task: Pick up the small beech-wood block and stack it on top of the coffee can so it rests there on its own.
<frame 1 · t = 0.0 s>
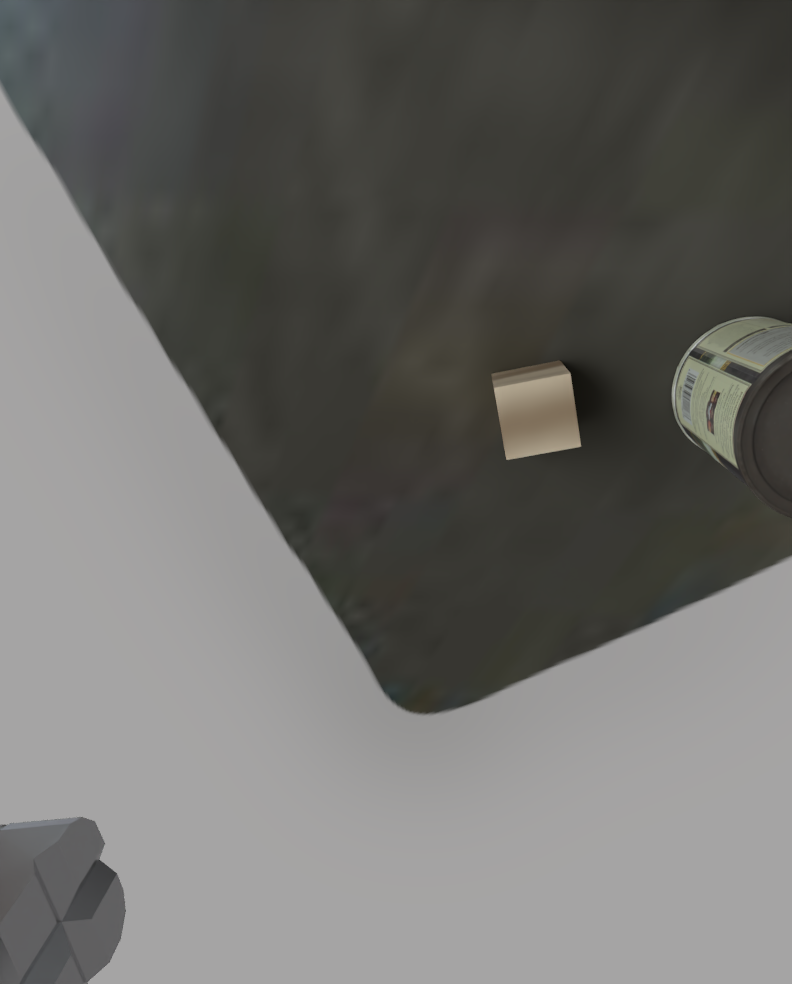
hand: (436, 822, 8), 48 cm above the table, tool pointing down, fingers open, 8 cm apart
coffee can: (743, 387, 53), on the table
beech block: (530, 400, 55), on the table
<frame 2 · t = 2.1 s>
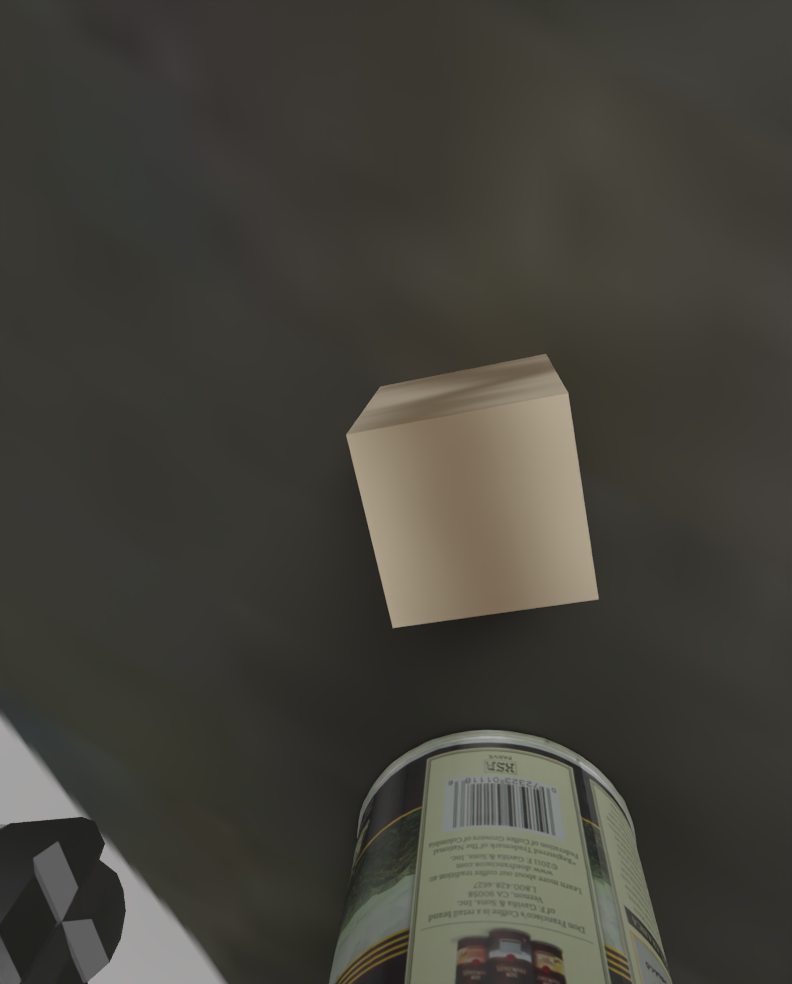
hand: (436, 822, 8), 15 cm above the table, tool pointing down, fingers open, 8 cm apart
coffee can: (495, 840, 28), on the table
beech block: (476, 450, 23), on the table
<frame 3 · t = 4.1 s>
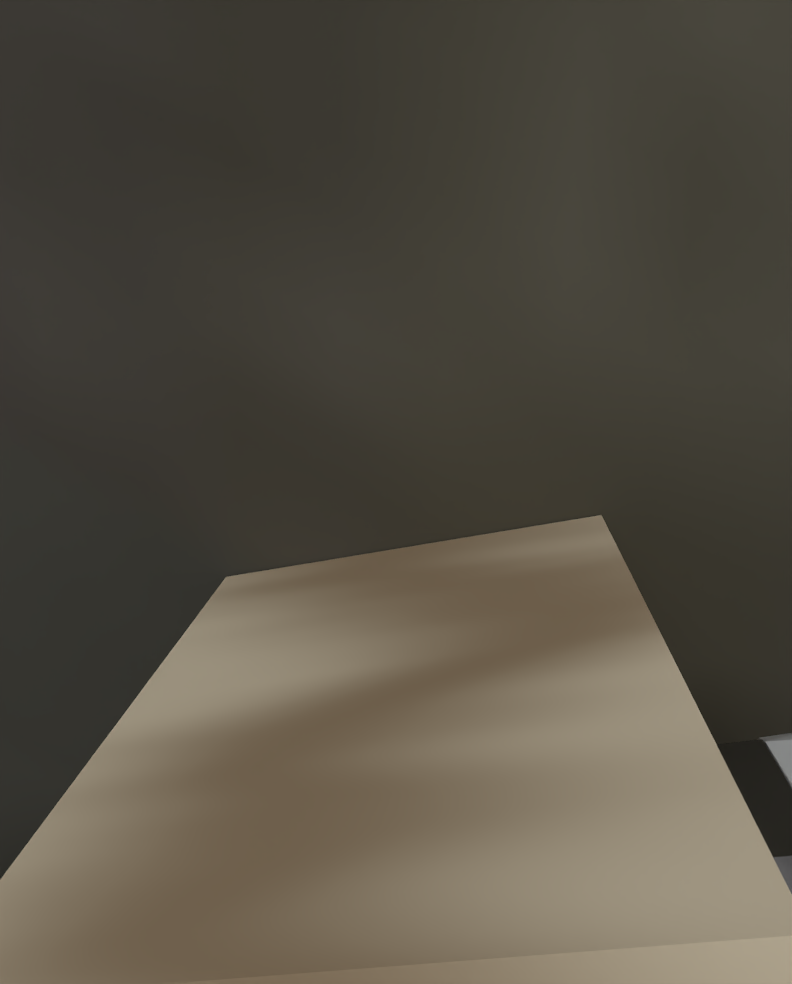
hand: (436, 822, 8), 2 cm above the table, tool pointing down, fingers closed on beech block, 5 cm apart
beech block: (443, 710, 10), on the table, touching gripper
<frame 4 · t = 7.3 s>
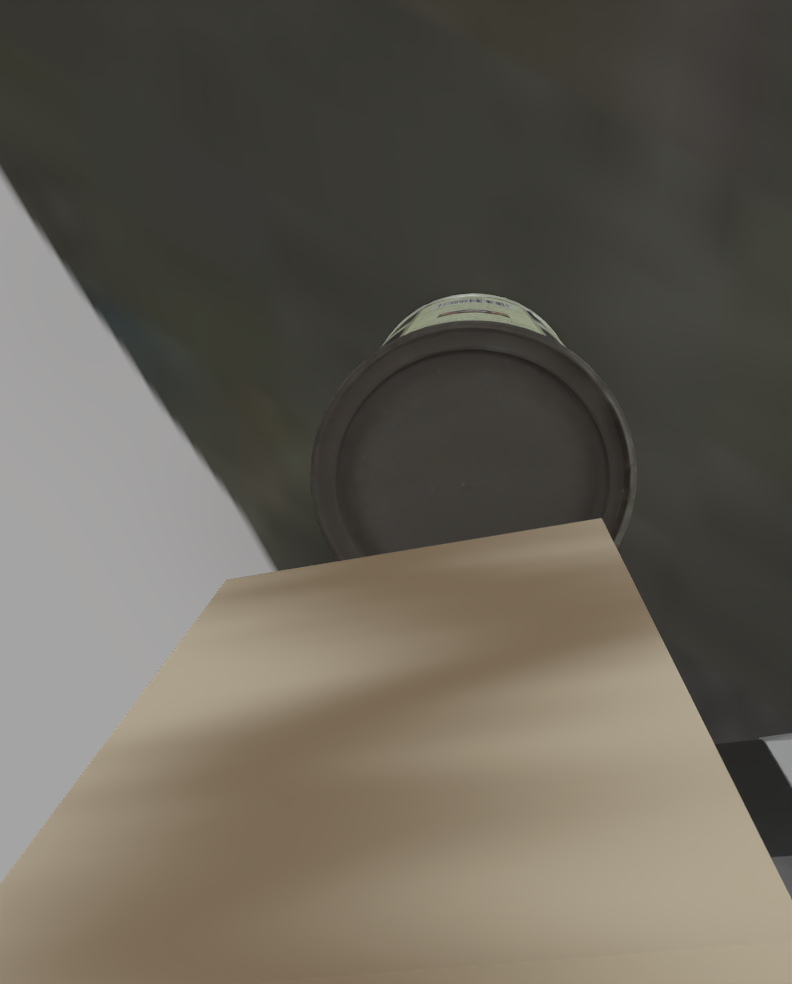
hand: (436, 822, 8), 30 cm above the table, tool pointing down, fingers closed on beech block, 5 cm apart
coffee can: (472, 399, 37), on the table
beech block: (443, 713, 10), point 27 cm above the table, touching gripper
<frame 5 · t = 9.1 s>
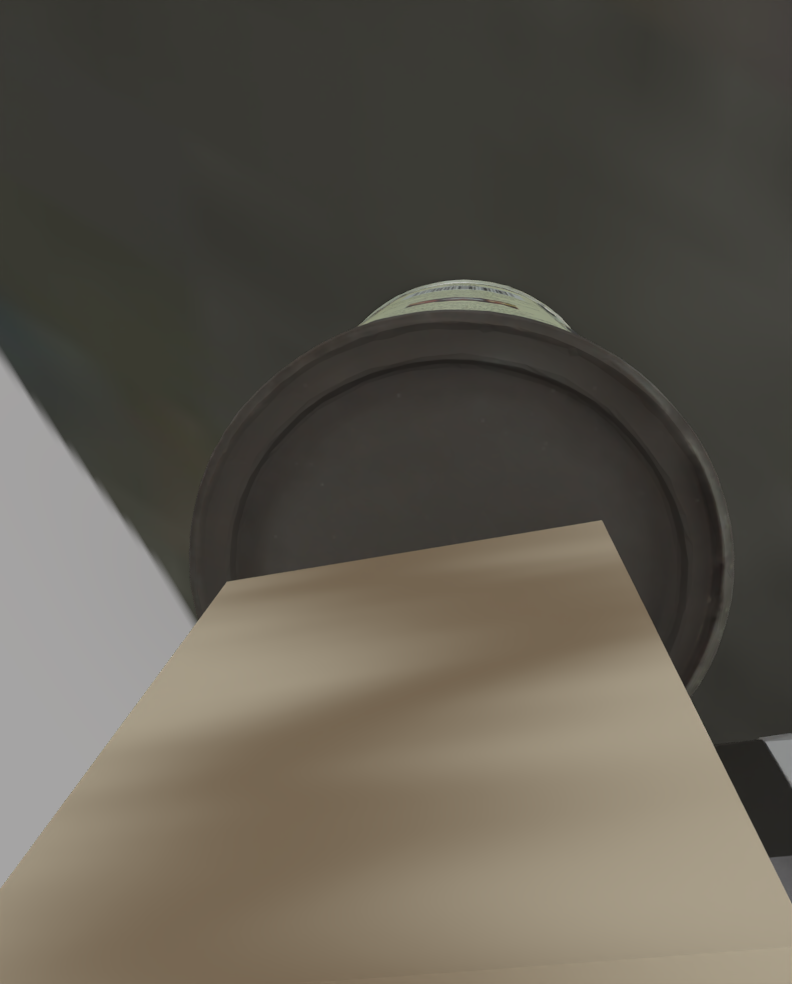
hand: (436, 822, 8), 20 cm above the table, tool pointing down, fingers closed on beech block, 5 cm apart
coffee can: (462, 422, 27), on the table
beech block: (443, 715, 10), point 18 cm above the table, touching gripper
when the fingers open (18 cm above the table, at t = 10.5 s): beech block drops 1 cm, resting on coffee can.
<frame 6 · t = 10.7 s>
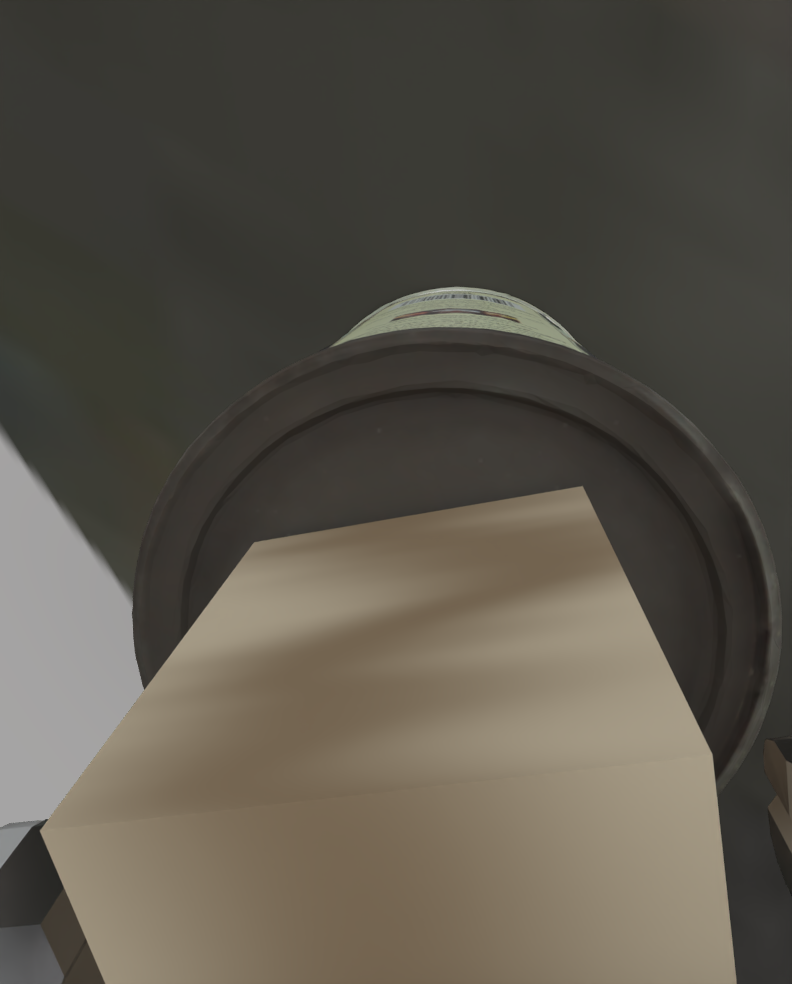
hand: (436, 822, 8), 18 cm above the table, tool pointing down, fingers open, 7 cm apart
coffee can: (457, 441, 25), on the table, touching beech block
beech block: (444, 661, 12), point 14 cm above the table, touching coffee can
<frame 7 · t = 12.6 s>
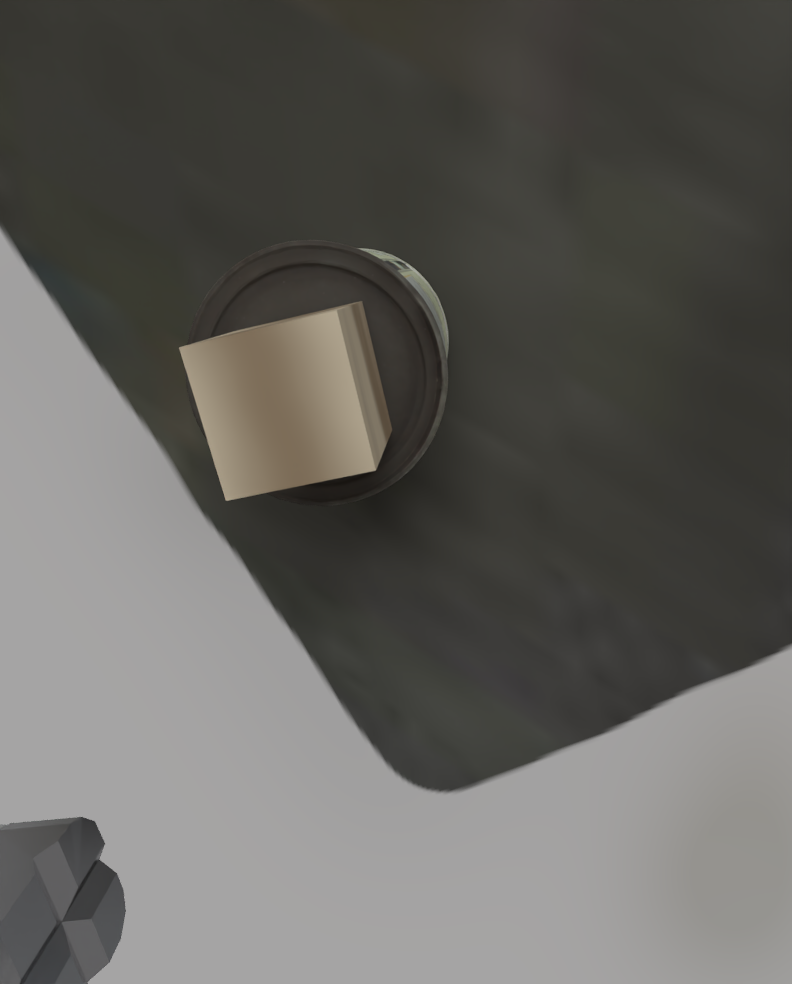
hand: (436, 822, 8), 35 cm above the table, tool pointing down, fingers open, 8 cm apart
coffee can: (360, 342, 42), on the table, touching beech block
beech block: (314, 380, 29), point 14 cm above the table, touching coffee can
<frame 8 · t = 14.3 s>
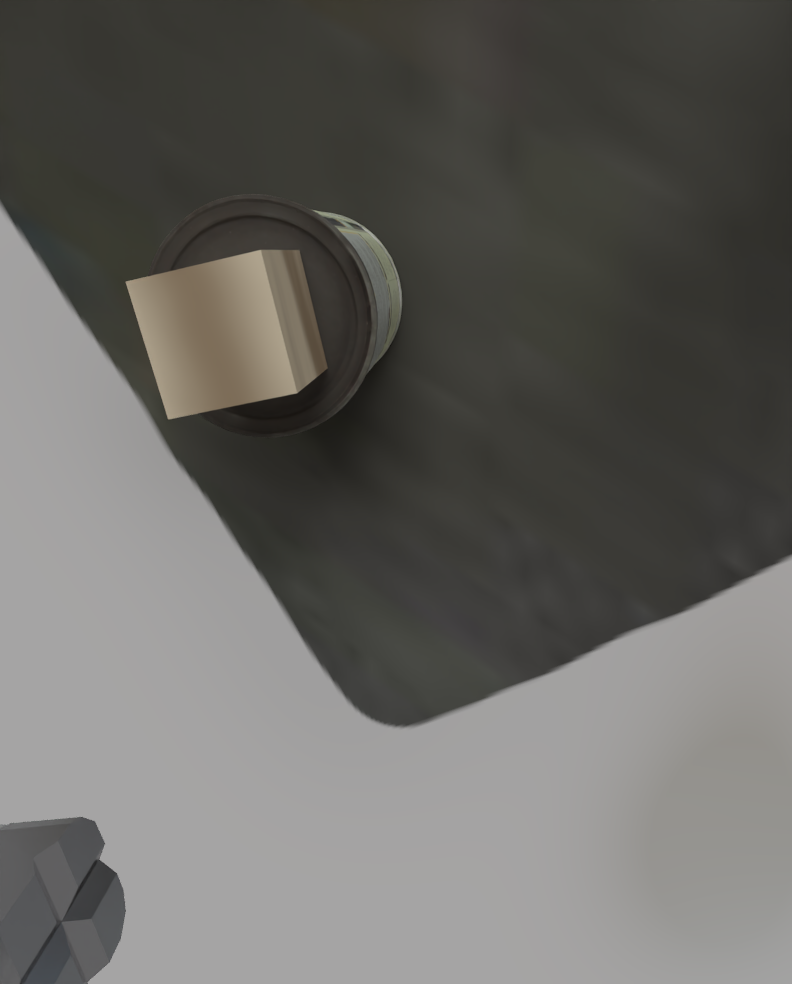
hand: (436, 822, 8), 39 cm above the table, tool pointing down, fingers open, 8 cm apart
coffee can: (321, 301, 45), on the table, touching beech block
beech block: (258, 322, 32), point 14 cm above the table, touching coffee can
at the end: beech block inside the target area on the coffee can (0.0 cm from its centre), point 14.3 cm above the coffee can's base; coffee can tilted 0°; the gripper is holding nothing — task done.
